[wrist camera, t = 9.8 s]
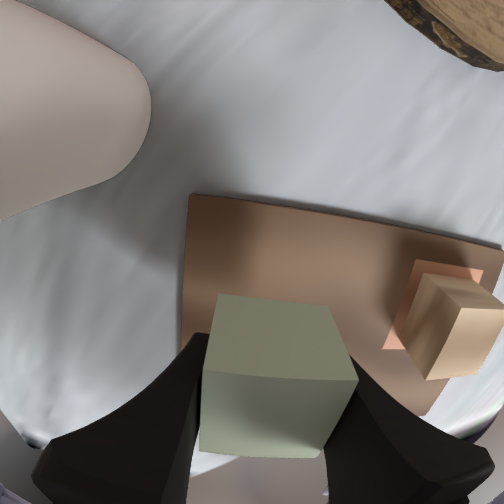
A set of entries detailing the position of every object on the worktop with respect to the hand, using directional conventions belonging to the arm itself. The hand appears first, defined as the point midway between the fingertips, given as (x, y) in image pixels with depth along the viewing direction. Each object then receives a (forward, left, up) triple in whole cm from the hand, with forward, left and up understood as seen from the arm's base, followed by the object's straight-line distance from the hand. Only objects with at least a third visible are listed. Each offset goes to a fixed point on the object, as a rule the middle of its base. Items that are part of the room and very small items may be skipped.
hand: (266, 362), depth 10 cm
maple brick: (0, -11, -5) cm, 12 cm away
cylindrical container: (+8, +10, -6) cm, 14 cm away
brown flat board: (-3, -6, -6) cm, 9 cm away
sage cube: (0, 0, -1) cm, 1 cm away
